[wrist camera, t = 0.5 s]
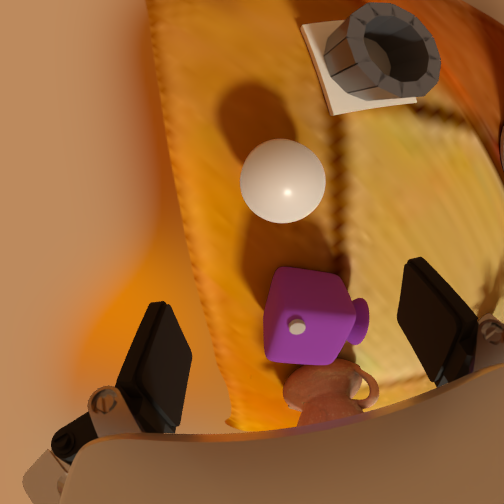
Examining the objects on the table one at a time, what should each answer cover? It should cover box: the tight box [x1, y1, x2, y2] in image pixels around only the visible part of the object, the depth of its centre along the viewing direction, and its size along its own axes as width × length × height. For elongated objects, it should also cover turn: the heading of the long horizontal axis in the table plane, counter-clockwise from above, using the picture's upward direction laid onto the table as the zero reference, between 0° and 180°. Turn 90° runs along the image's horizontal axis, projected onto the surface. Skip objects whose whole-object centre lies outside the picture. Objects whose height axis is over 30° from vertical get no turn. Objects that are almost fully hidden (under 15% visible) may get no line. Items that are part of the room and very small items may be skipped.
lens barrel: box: [300, 3, 441, 115], centre depth 19 cm, size 11×11×10 cm
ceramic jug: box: [283, 358, 379, 427], centre depth 40 cm, size 18×14×14 cm
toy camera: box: [263, 267, 369, 365], centre depth 33 cm, size 11×14×10 cm
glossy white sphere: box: [240, 138, 326, 223], centre depth 27 cm, size 8×8×7 cm
